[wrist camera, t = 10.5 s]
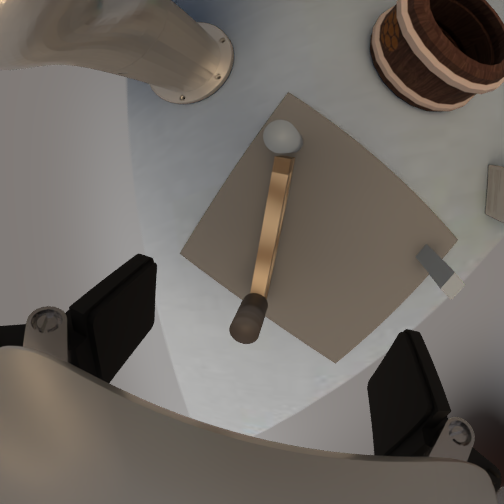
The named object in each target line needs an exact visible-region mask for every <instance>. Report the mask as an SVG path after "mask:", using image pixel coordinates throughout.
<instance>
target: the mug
mask: <svg viewBox="0 0 504 504" xmlns="http://www.w3.org/2000/svg"><path fill="white" fill-rule="evenodd" d="M370 52H371V56H372V59H373V63H374V66H375V68H376V70H377V71H378V73H379V75H380V77H381V79H382V80H383V82H384V83H385V84H386V85H387V86H388V87H389V88H390V89H391V90H392V91H393V92H394V93H395V95H397V96H398V97H400V98H401V99H403V100H404V101H406V102H407V103H409V104H410V105H412V106H415V107H418V108H420V109H423V110H426V111H452V110H454V109H457V108H460V107H463V106H464V105H465V104H466V103H467V102H468V101H469V100H470V99H472V98H473V97H474V96H475V95H476V94H483V93H487V92H490V91H493V90H495V89H496V88H498V87H499V86H500V85H501V84H502V83H503V82H504V24H503V22H502V21H501V19H500V17H499V16H498V14H497V13H496V12H495V10H494V9H493V8H492V7H491V6H490V5H489V4H488V3H487V1H486V0H397V4H396V5H395V6H393V7H391V8H390V9H388V10H387V11H386V12H384V13H383V14H381V15H380V16H379V18H378V19H377V21H376V23H375V25H374V27H373V32H372V35H371V43H370Z"/></svg>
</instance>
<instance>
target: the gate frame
mask: <svg viewBox="0 0 504 504" xmlns="http://www.w3.org/2000/svg"><path fill="white" fill-rule="evenodd" d="M263 140H264V143H265V145H266V146H267V148H268V149H269V150H271V151H273V152H275V153H294V152H297V151H299V150H300V149H301V148H302V146H303V138H302V136H301V135H300V133H299V132H298V131H297V129H296V128H295V127H294V126H293V125H292V124H291V123H290V122H288V121H285V120H275V121H273V122H271V123H269V124H268V125H267V126H266V128H265V130H264V133H263ZM416 258H417V259H418V261H419V262H420V263H421V264H422V266H423V267H424V268H425V269H426V270H427V272H428V273H429V274H430V276H431V277H432V278H433V279H434V281H435V282H436V283H437V285H438V286H439V287H440V289H441V290H442V291H443V292H444V293H445V294H446V295H447V296H448V297H449V298H450V299H451V300H452V299H453V298H454V297H455V296H456V295H457V293H458V292H459V291H460V290H461V289H462V288H463V287H464V286H465V284H464V282H463V281H462V280H461V279H460V278H459V276H458V275H457V274H456V273H455V272H454V271H453V270H452V269H451V268H450V267H449V266H448V265H447V264H446V263H445V262H444V261H443V260H442V259H441V258H440V257H439V256H438V255H437V254H436V253H435V252H434V251H433V250H432V249H431V248H430V247H429V246H428V245H427V244H426V245H425V246H424V247H423V248H422V250H421V251H420V252H419V253H418V254H417V255H416Z"/></svg>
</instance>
